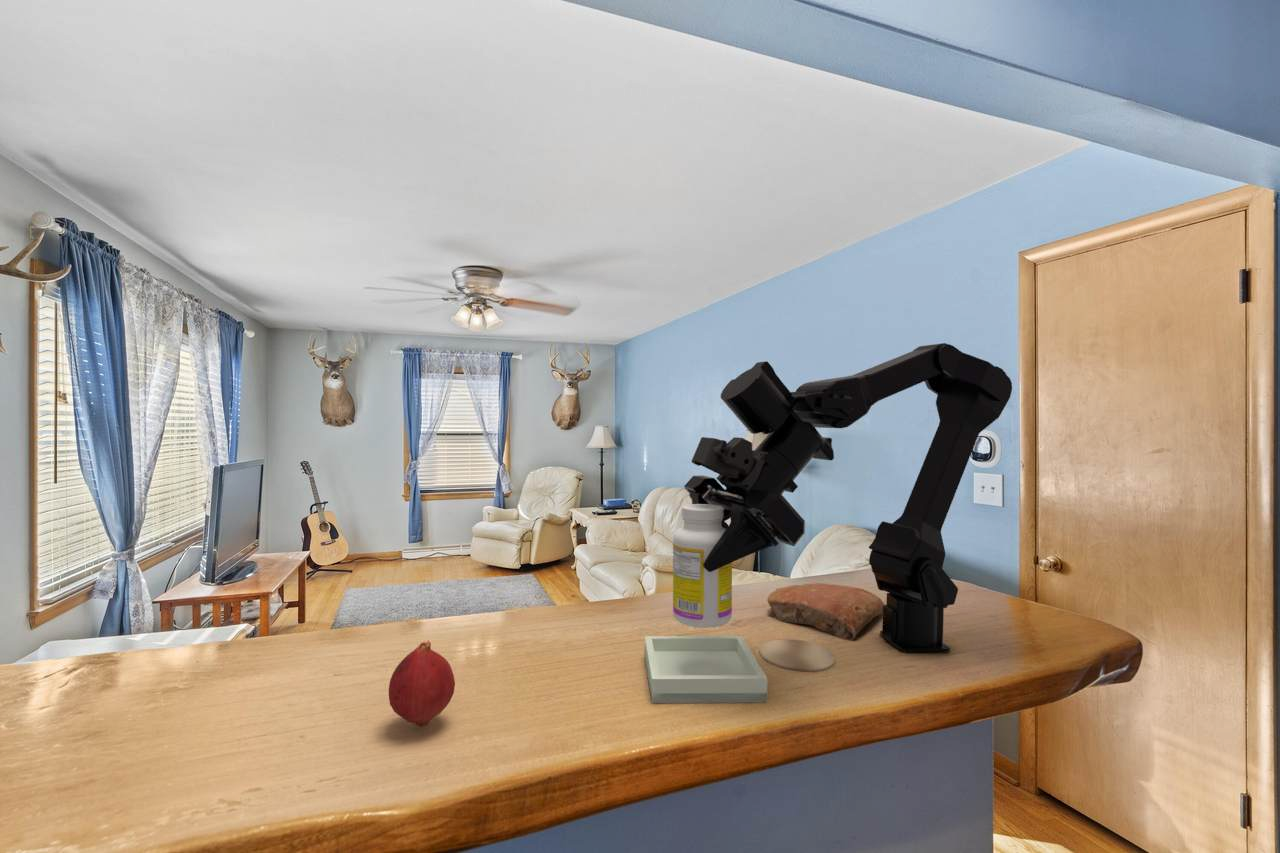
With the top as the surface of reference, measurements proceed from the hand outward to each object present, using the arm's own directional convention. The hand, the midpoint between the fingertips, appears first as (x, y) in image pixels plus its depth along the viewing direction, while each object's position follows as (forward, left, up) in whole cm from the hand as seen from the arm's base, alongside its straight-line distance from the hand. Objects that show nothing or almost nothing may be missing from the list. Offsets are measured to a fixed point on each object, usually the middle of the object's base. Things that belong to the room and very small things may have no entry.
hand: (691, 561), depth 68 cm
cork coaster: (-14, -6, -13) cm, 20 cm away
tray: (-1, 0, -13) cm, 13 cm away
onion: (+27, +10, -13) cm, 32 cm away
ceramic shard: (-23, -21, -14) cm, 34 cm away
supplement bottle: (-1, 0, -7) cm, 7 cm away
